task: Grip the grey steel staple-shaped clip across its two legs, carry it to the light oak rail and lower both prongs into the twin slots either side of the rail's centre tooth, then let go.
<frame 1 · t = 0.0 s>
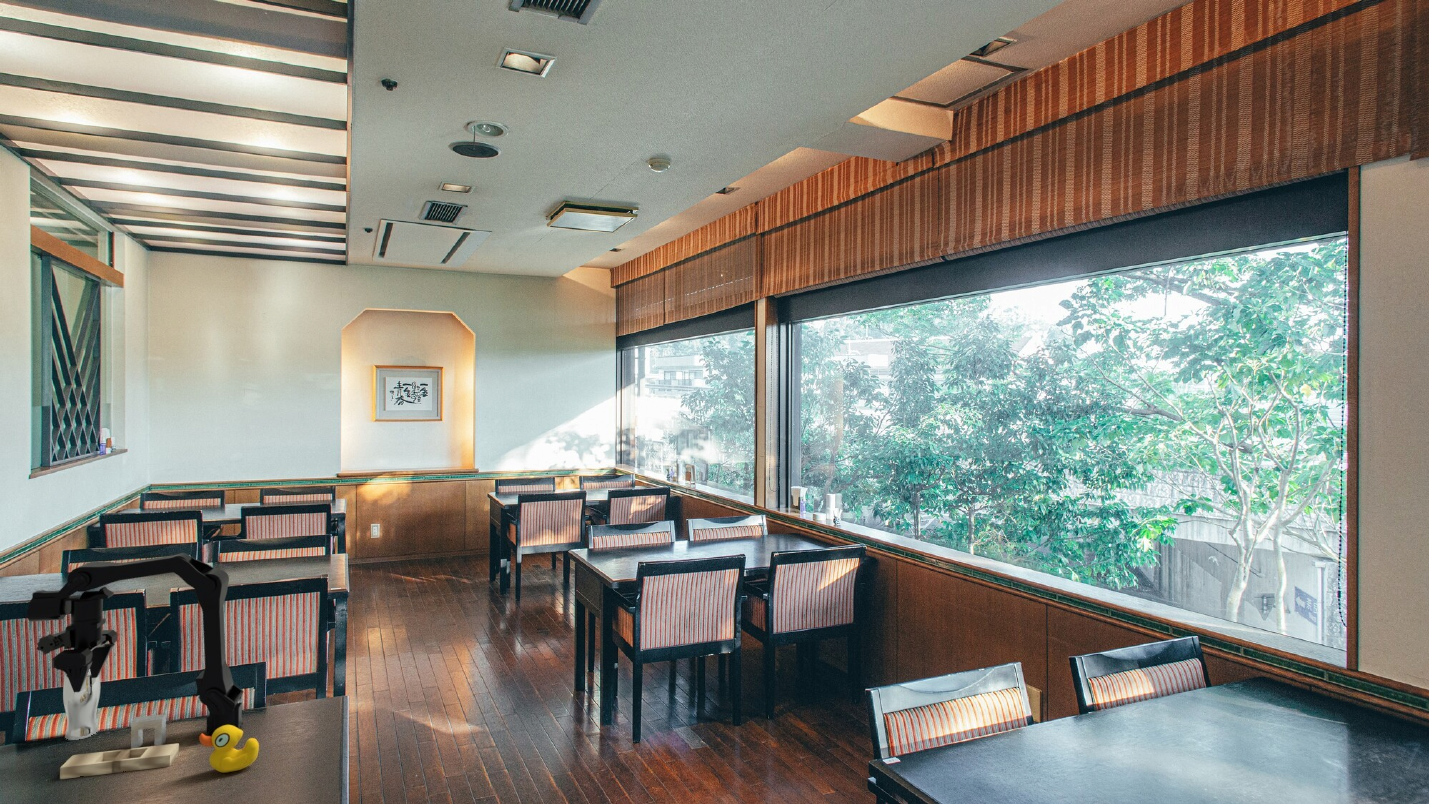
hand: (86, 684, 180), 15 cm above the table, tool pointing down, fingers open, 9 cm apart
beer glass: (81, 735, 186), on the table
duckling: (230, 771, 171), on the table
clip: (148, 745, 182), on the table
rail: (121, 766, 171), on the table
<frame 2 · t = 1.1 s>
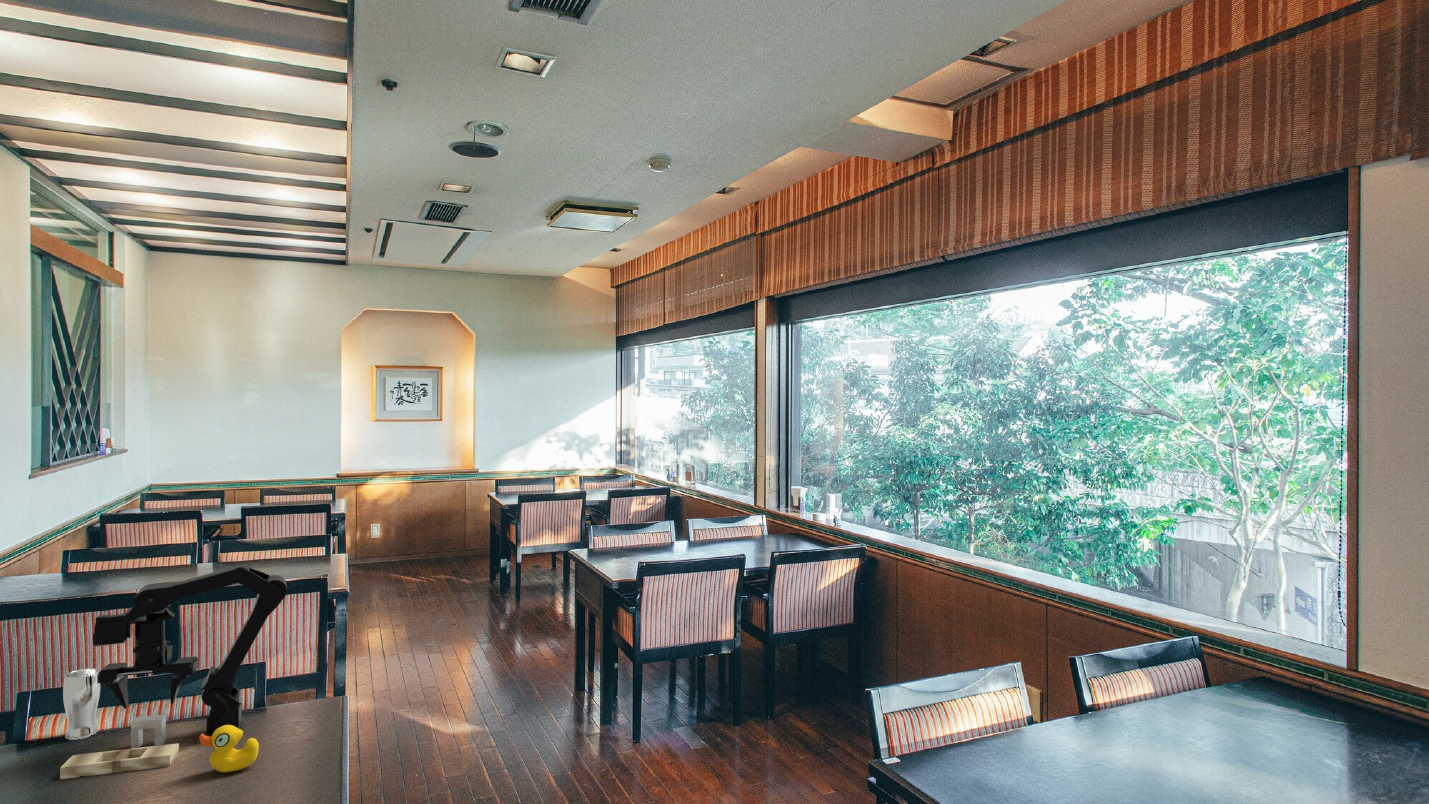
hand: (149, 705, 182), 9 cm above the table, tool pointing down, fingers open, 9 cm apart
nothing on the table moved.
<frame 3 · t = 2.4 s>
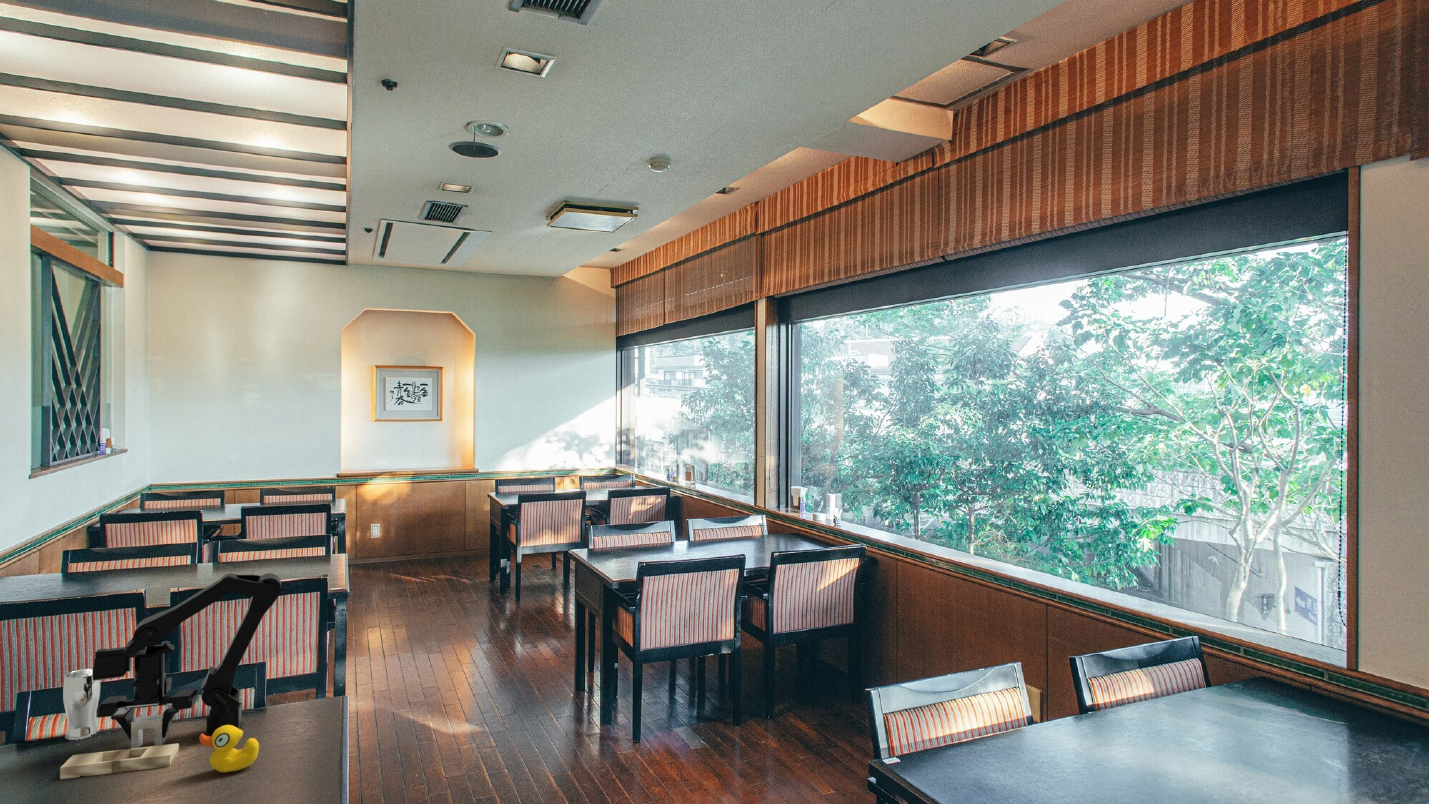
hand: (148, 738, 182), 2 cm above the table, tool pointing down, fingers closed on clip, 6 cm apart
clip: (148, 745, 182), on the table, touching gripper
everything else where it was.
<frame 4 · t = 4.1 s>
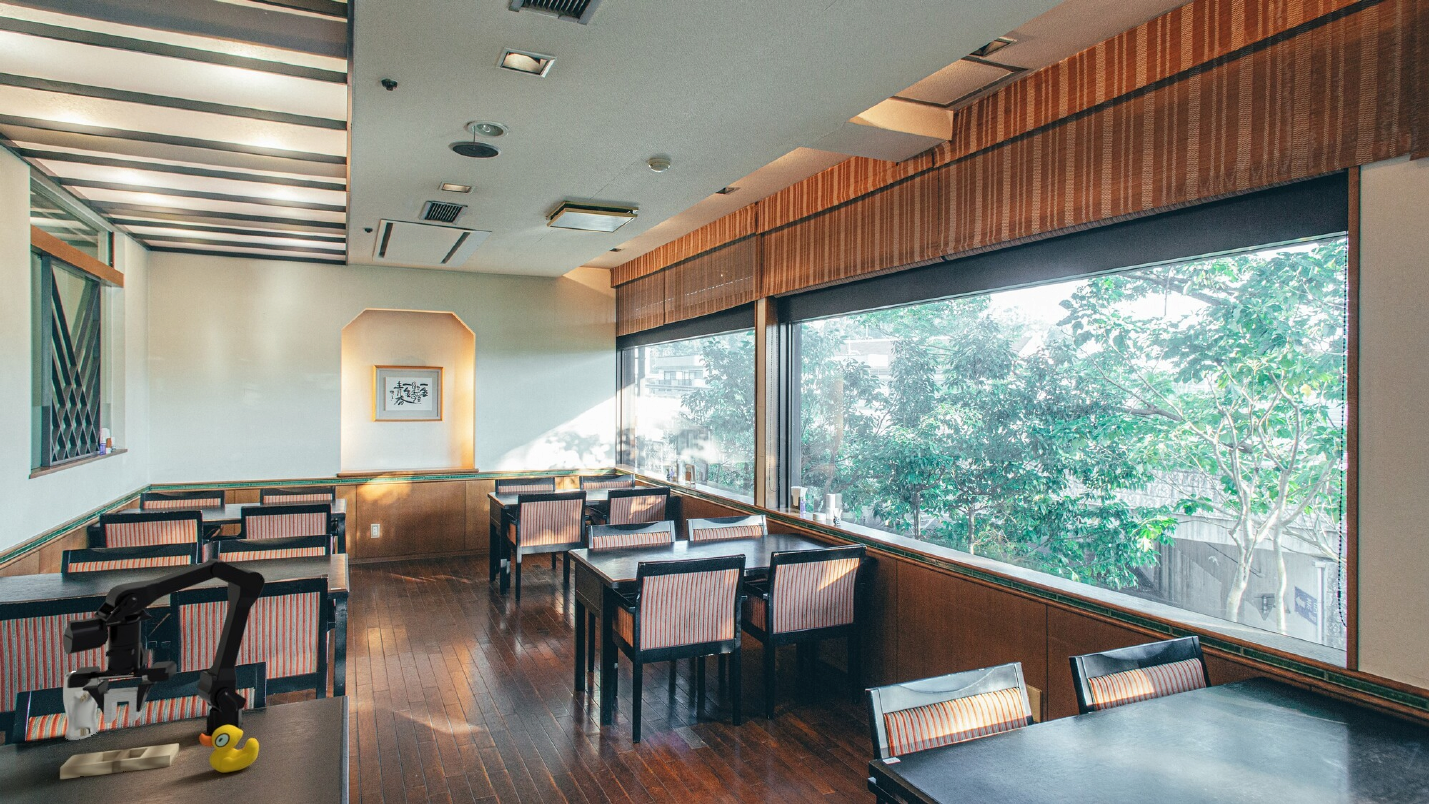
hand: (122, 712, 172), 12 cm above the table, tool pointing down, fingers closed on clip, 6 cm apart
clip: (122, 719, 172), point 10 cm above the table, touching gripper
everything else where it was.
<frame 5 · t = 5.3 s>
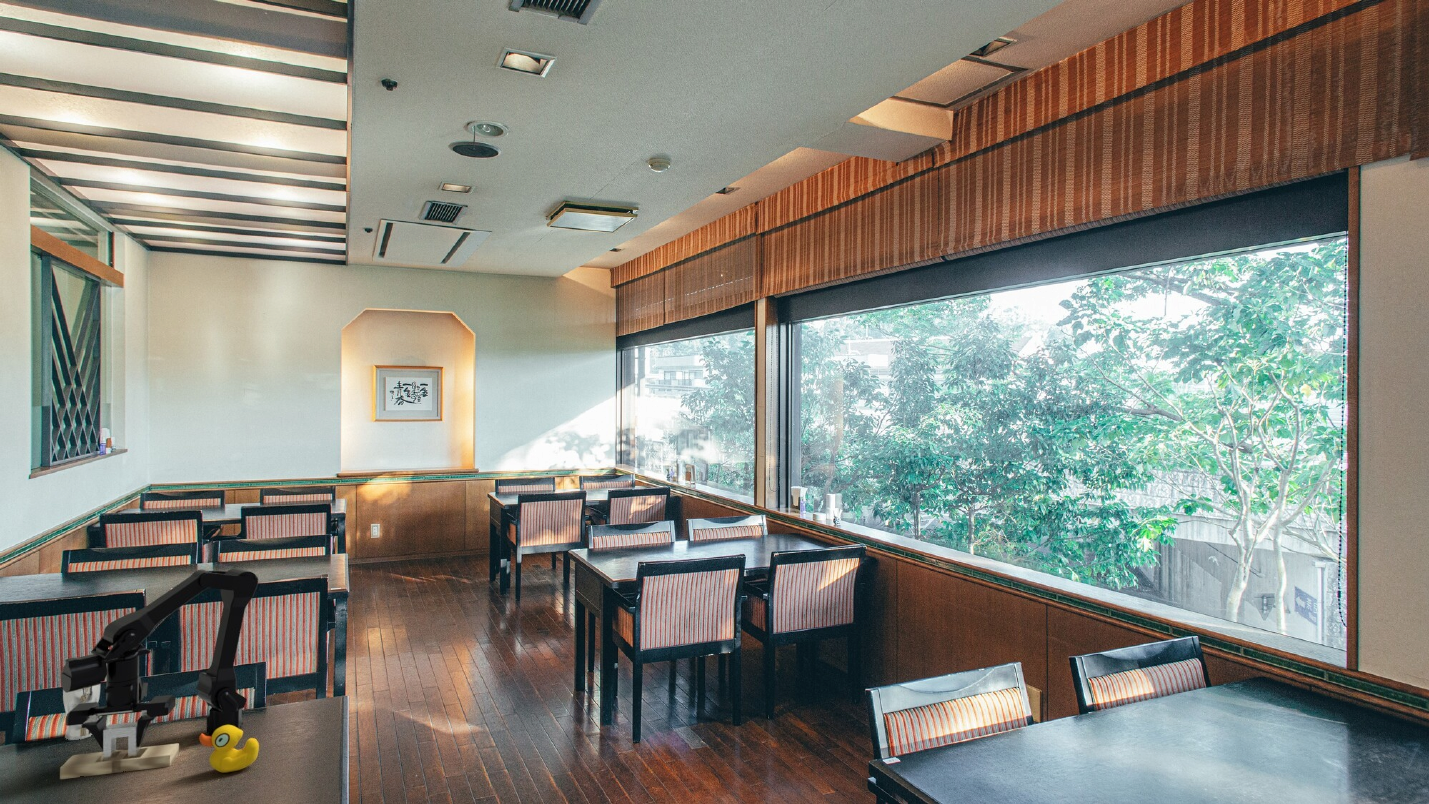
hand: (122, 748, 171), 4 cm above the table, tool pointing down, fingers closed on clip, 6 cm apart
clip: (122, 754, 172), point 3 cm above the table, touching gripper
everything else where it was.
when the fingers open (3 cm above the table, at t = 6.0 s): clip drops 1 cm, resting in rail.
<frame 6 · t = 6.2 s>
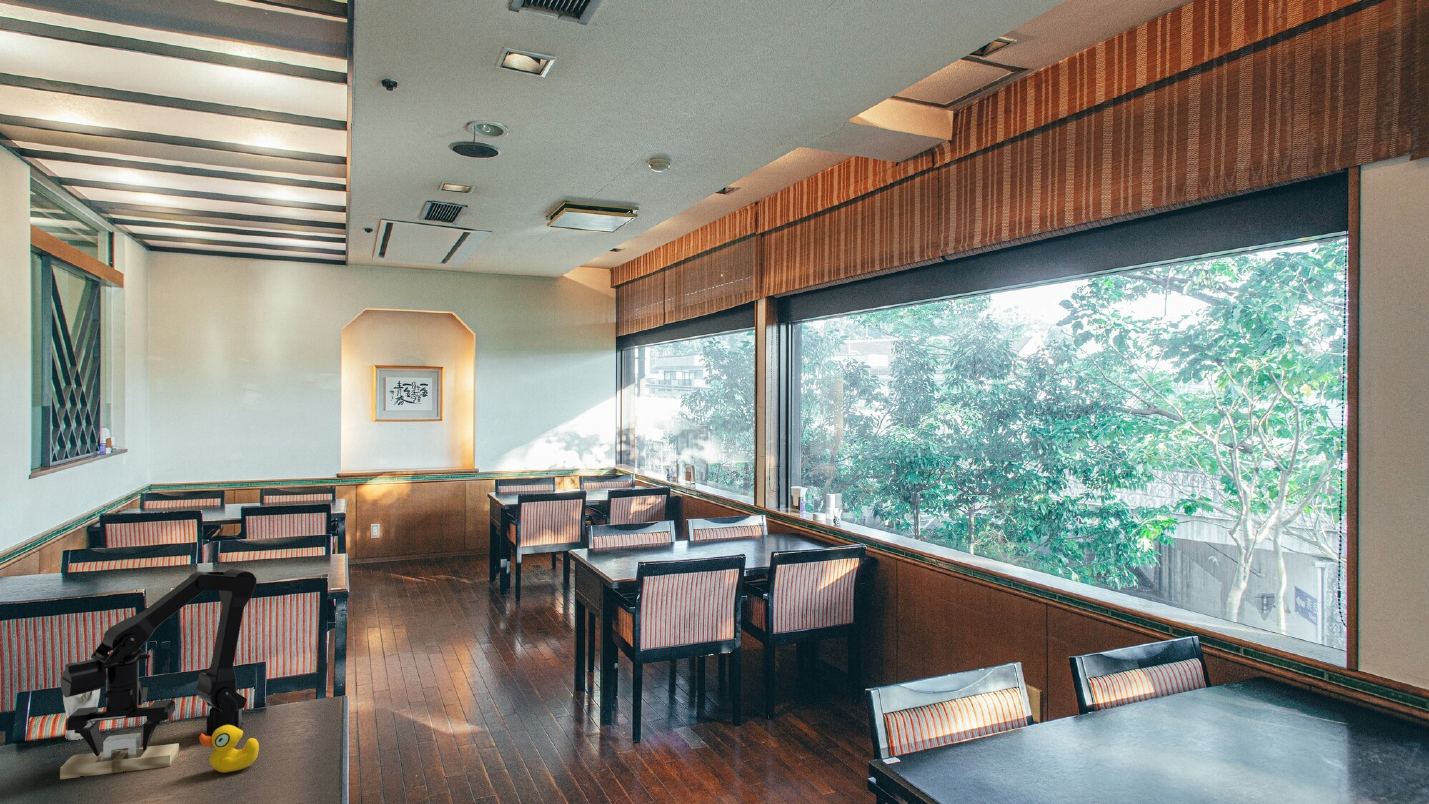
hand: (121, 752, 171), 3 cm above the table, tool pointing down, fingers open, 8 cm apart
clip: (121, 766, 172), resting in rail
everything else where it was.
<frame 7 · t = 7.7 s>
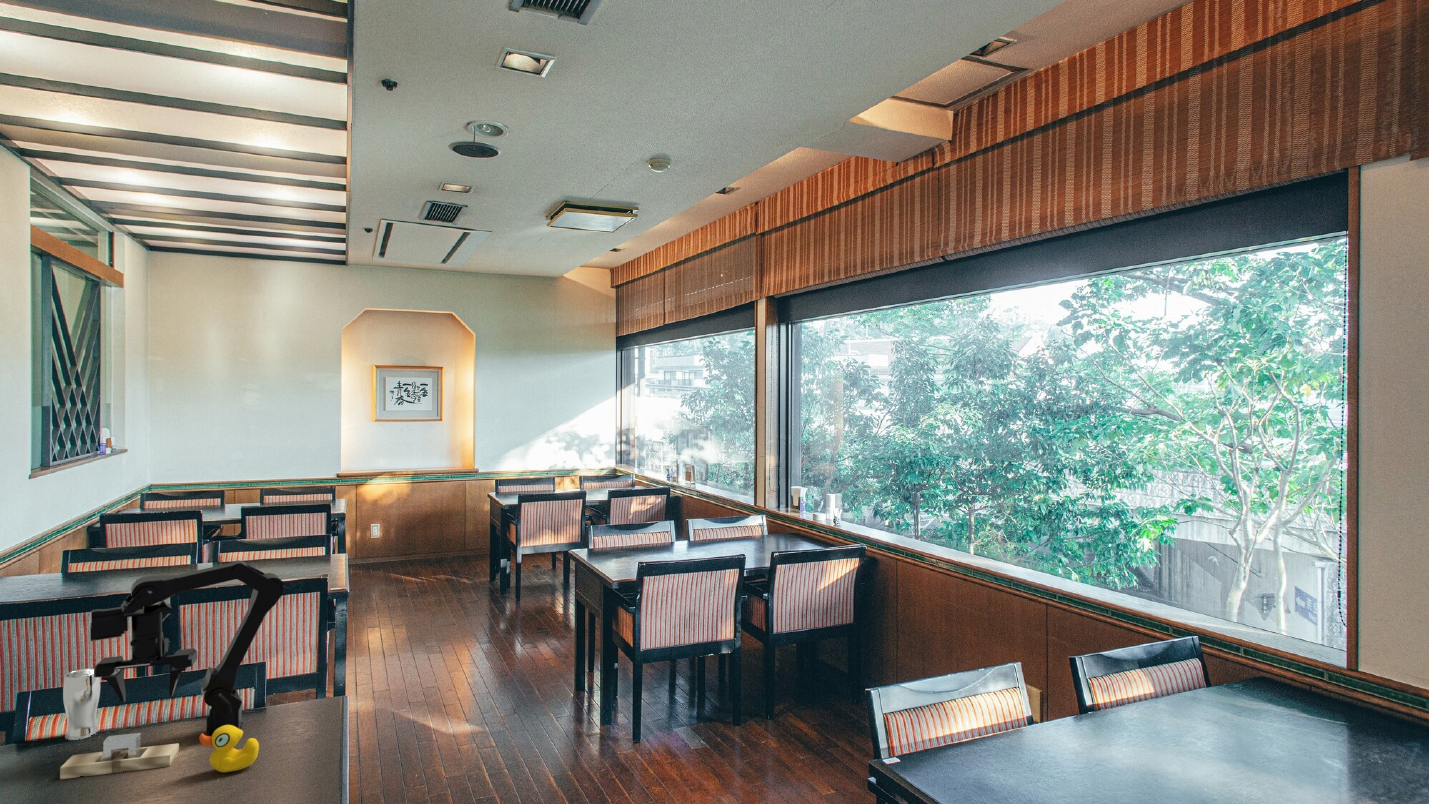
hand: (147, 699, 180), 12 cm above the table, tool pointing down, fingers open, 9 cm apart
nothing on the table moved.
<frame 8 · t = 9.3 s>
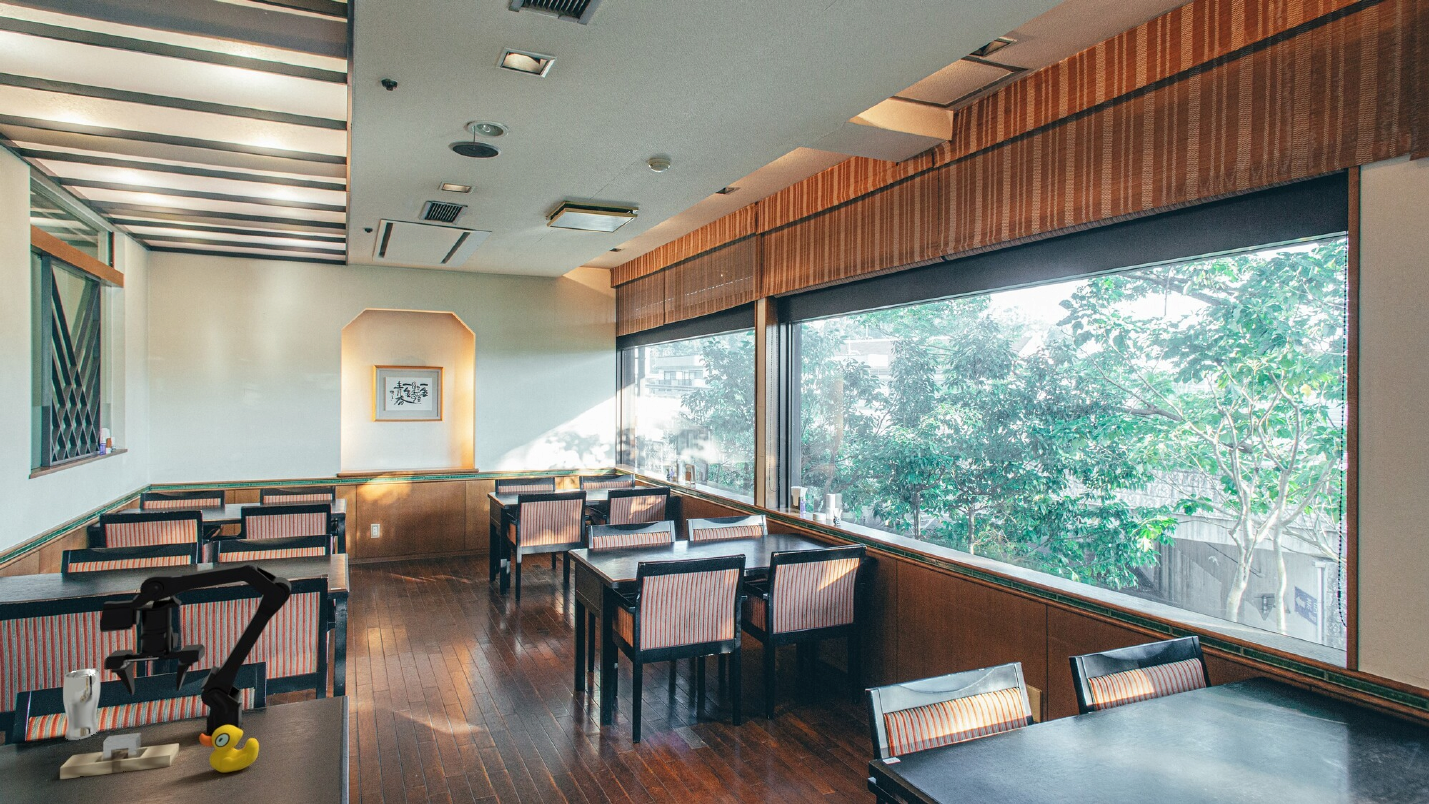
hand: (155, 692, 183), 12 cm above the table, tool pointing down, fingers open, 9 cm apart
nothing on the table moved.
at the end: clip 0.1 cm off-centre on the rail, point 0.0 cm above the rail's base; clip tilted 0°; the gripper is holding nothing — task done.
